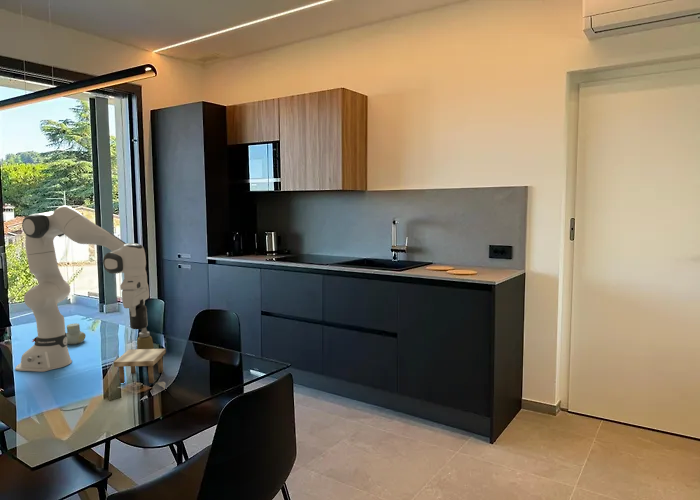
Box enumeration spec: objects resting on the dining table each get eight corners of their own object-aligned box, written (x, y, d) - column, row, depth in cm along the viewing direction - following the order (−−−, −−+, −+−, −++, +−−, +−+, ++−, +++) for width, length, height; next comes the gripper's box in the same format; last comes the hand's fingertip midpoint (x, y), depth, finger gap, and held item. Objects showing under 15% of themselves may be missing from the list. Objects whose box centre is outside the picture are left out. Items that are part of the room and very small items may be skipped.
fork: (173, 405, 193) (173, 398, 192) (152, 384, 208) (152, 378, 207) (180, 403, 195) (180, 396, 194) (159, 382, 210) (159, 376, 209)
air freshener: (76, 346, 258) (74, 327, 257) (60, 346, 258) (59, 327, 257) (87, 339, 269) (86, 321, 268) (72, 339, 269) (71, 322, 268)
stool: (115, 385, 206) (113, 362, 205) (130, 371, 222) (129, 349, 221) (154, 384, 207) (153, 361, 206) (166, 370, 223) (165, 348, 222)
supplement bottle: (143, 323, 217) (141, 297, 215) (150, 326, 212) (148, 299, 211) (127, 327, 212) (125, 300, 210) (134, 330, 207) (132, 302, 206)
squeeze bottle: (148, 365, 229) (146, 327, 226) (133, 364, 230) (130, 327, 228) (158, 359, 236) (156, 323, 234) (143, 358, 238) (141, 322, 236)
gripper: (137, 277, 220) (139, 307, 221) (118, 286, 199) (120, 320, 201) (152, 277, 220) (153, 307, 222) (134, 286, 200) (136, 319, 201)
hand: (137, 313), depth 211 cm, fingers closed on supplement bottle, 7 cm apart
